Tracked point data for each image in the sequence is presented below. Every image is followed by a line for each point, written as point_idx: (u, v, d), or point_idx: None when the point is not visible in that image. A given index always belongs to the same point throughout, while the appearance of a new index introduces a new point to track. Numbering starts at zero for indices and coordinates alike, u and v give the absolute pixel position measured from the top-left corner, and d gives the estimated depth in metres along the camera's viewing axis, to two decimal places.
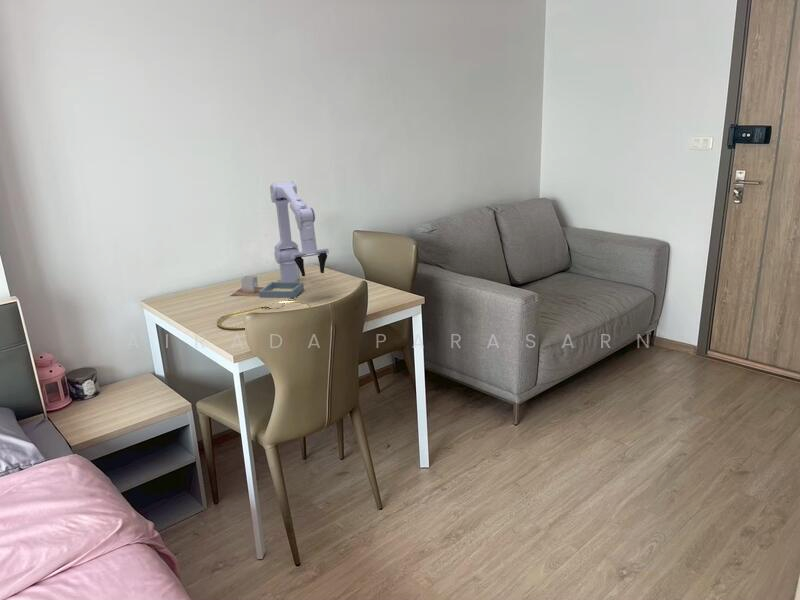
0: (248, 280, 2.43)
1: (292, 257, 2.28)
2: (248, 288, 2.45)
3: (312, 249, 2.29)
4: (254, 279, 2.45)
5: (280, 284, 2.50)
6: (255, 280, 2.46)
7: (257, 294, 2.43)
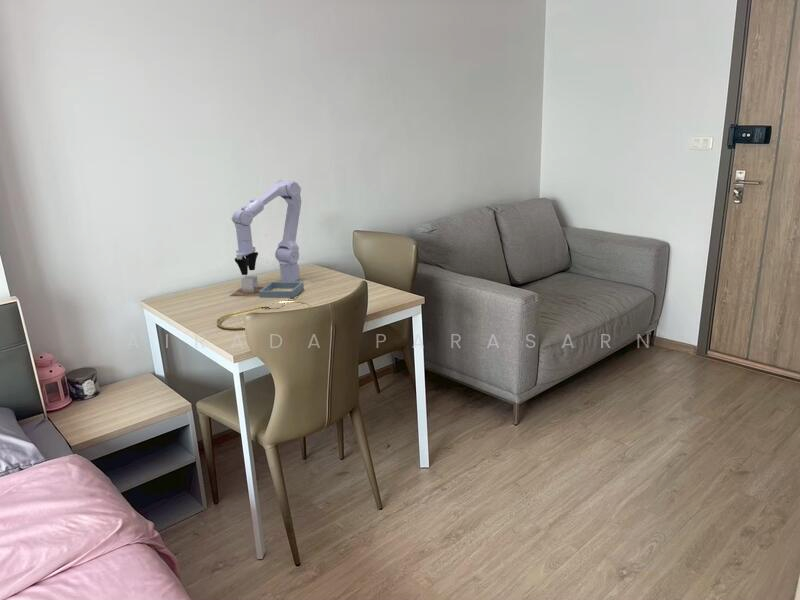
0: (248, 280, 2.43)
1: None
2: (248, 288, 2.45)
3: None
4: (254, 279, 2.45)
5: (280, 284, 2.50)
6: (255, 280, 2.46)
7: (257, 294, 2.43)
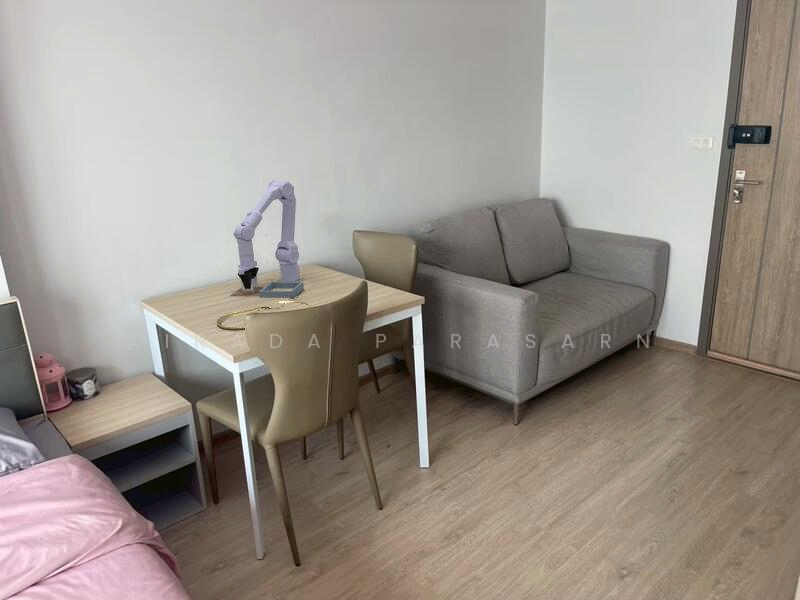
0: None
1: None
2: None
3: None
4: (254, 279, 2.45)
5: (280, 284, 2.50)
6: (255, 280, 2.46)
7: (257, 294, 2.43)
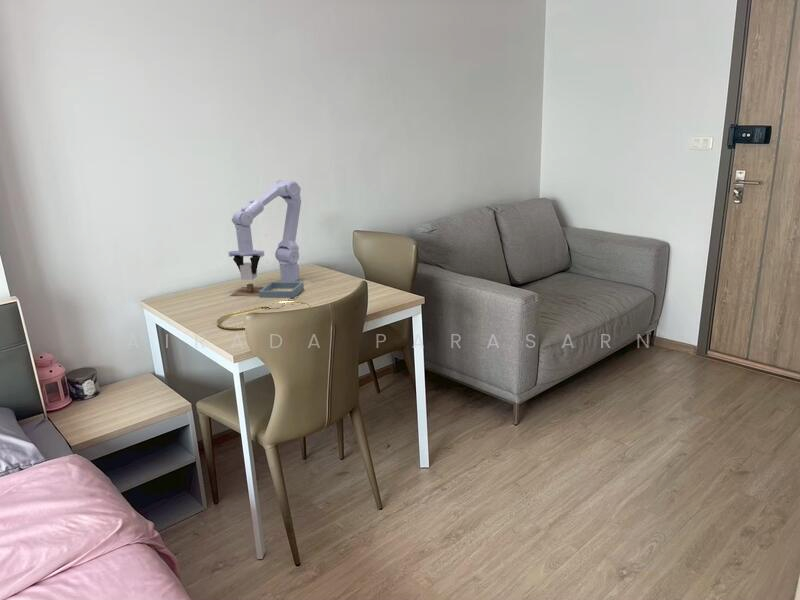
0: None
1: (229, 255, 2.44)
2: None
3: (243, 251, 2.40)
4: None
5: (280, 284, 2.50)
6: None
7: (257, 294, 2.43)
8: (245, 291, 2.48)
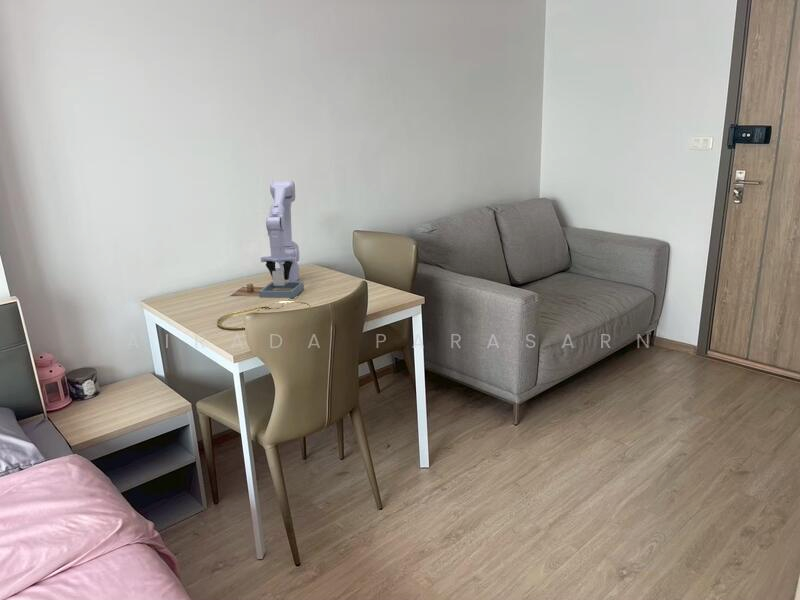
0: None
1: (261, 260, 2.41)
2: None
3: (276, 257, 2.37)
4: None
5: None
6: None
7: (257, 294, 2.43)
8: (245, 291, 2.48)
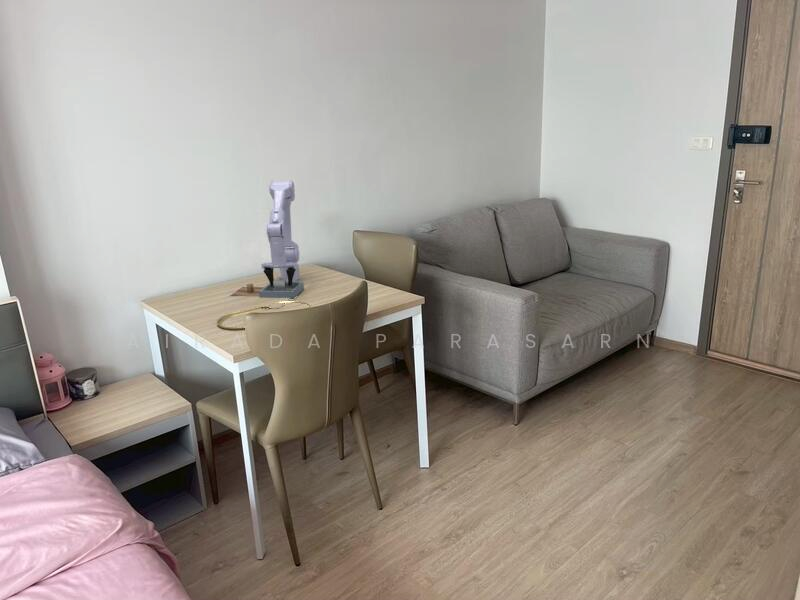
0: (287, 280, 2.43)
1: (262, 267, 2.42)
2: (287, 288, 2.44)
3: (277, 263, 2.38)
4: None
5: None
6: None
7: (257, 294, 2.43)
8: (245, 291, 2.48)
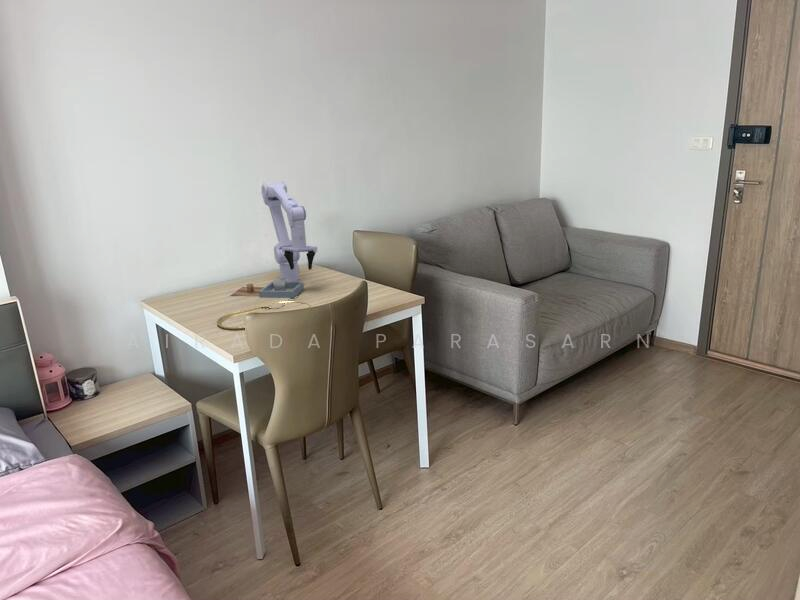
0: (287, 280, 2.43)
1: (282, 250, 2.45)
2: (287, 288, 2.44)
3: (297, 247, 2.41)
4: None
5: None
6: None
7: (257, 294, 2.43)
8: (245, 291, 2.48)
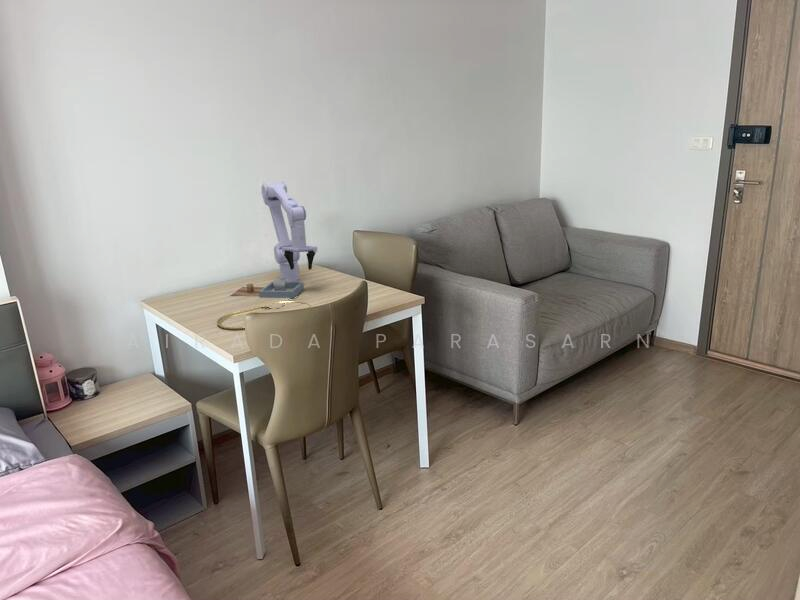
0: (287, 280, 2.43)
1: (282, 250, 2.45)
2: (287, 288, 2.44)
3: (297, 247, 2.41)
4: None
5: None
6: None
7: (257, 294, 2.43)
8: (245, 291, 2.48)
